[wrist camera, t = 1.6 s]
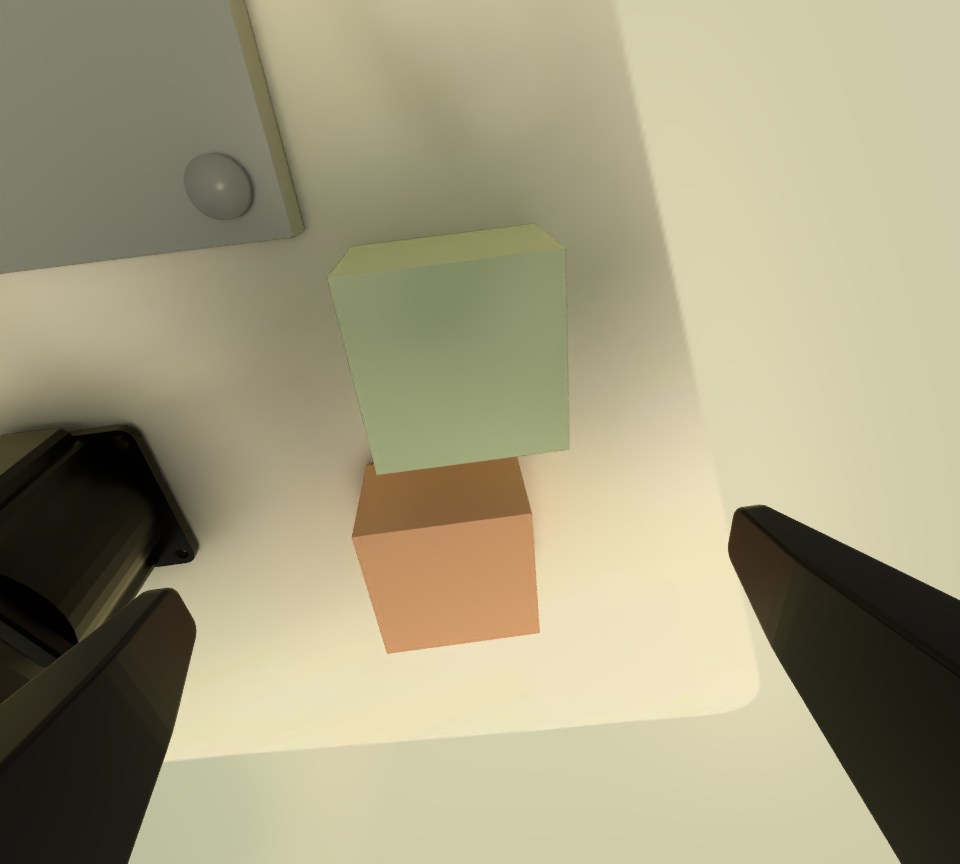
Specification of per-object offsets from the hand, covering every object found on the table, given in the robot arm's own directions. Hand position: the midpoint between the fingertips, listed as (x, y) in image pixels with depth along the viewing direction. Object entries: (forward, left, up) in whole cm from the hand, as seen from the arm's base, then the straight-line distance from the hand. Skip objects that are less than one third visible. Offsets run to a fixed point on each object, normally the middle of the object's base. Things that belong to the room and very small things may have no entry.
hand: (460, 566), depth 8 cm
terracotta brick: (-8, +1, -12) cm, 14 cm away
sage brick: (0, 0, -12) cm, 12 cm away
